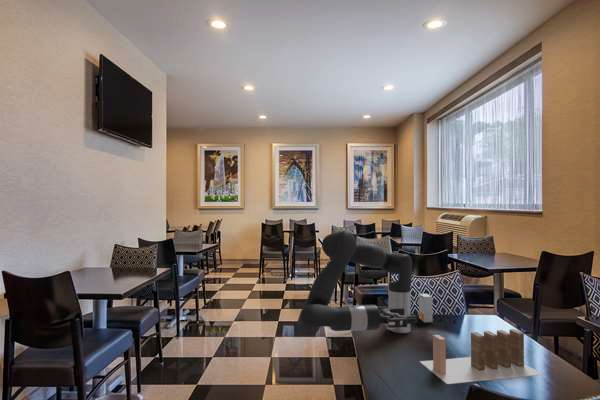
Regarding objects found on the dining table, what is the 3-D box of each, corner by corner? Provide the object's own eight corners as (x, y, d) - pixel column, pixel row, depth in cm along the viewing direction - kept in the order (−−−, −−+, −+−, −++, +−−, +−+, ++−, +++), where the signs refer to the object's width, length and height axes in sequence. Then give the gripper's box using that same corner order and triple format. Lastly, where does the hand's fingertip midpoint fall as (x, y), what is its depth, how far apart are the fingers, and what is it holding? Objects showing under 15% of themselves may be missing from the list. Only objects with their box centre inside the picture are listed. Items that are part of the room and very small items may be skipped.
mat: (447, 386, 108) (447, 384, 108) (419, 363, 123) (419, 361, 123) (543, 376, 114) (543, 374, 114) (505, 355, 130) (505, 353, 130)
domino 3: (505, 368, 118) (505, 334, 119) (497, 362, 122) (496, 330, 122) (511, 367, 119) (510, 334, 119) (502, 362, 123) (501, 330, 123)
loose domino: (440, 374, 114) (440, 339, 114) (433, 368, 118) (433, 335, 118) (445, 373, 114) (445, 339, 114) (438, 368, 118) (438, 334, 118)
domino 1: (479, 370, 116) (478, 336, 117) (471, 365, 120) (470, 332, 121) (484, 370, 117) (484, 336, 117) (476, 364, 121) (476, 331, 121)
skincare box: (418, 318, 173) (418, 293, 173) (427, 318, 173) (427, 293, 173) (424, 322, 167) (424, 296, 167) (432, 322, 167) (432, 296, 167)
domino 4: (518, 366, 119) (518, 333, 120) (509, 361, 123) (509, 329, 123) (524, 366, 120) (523, 333, 120) (514, 361, 124) (514, 329, 124)
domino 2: (492, 369, 117) (492, 335, 118) (484, 364, 121) (483, 331, 122) (497, 368, 118) (497, 335, 118) (489, 363, 122) (489, 331, 122)
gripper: (370, 311, 104) (422, 309, 107) (354, 299, 118) (399, 297, 121) (370, 338, 104) (422, 334, 107) (354, 322, 118) (399, 320, 121)
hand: (410, 315), depth 114 cm, fingers open, 8 cm apart
